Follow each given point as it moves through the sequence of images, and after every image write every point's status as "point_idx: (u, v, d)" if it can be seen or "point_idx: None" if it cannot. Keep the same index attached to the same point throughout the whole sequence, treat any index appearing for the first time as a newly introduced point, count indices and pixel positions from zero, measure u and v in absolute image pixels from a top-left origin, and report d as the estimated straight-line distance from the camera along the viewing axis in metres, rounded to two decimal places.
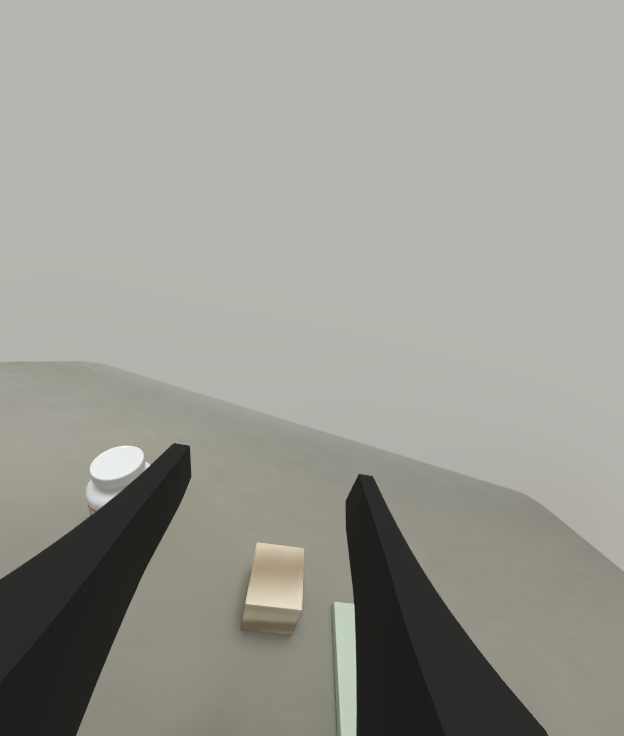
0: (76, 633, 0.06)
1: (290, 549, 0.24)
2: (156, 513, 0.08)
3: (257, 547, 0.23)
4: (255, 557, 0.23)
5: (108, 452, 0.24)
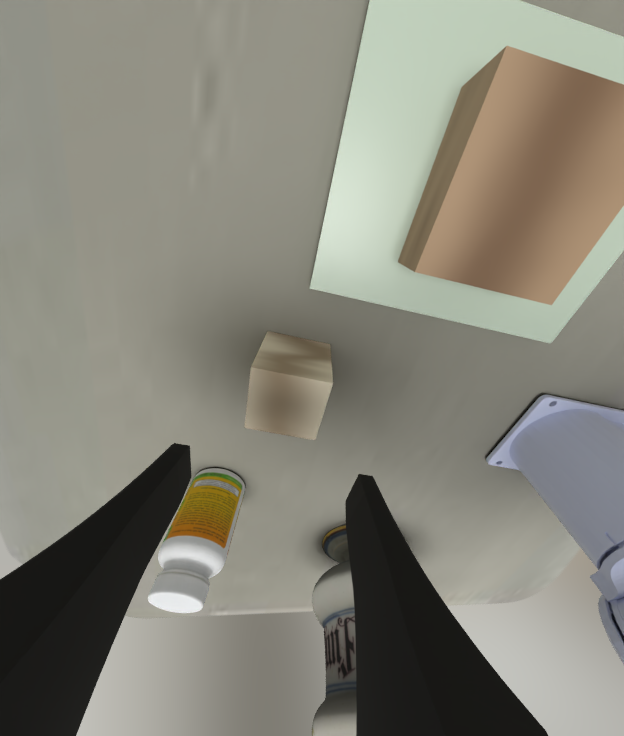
0: (76, 633, 0.06)
1: (253, 387, 0.14)
2: (156, 513, 0.08)
3: (251, 427, 0.16)
4: (264, 430, 0.16)
5: (166, 609, 0.19)
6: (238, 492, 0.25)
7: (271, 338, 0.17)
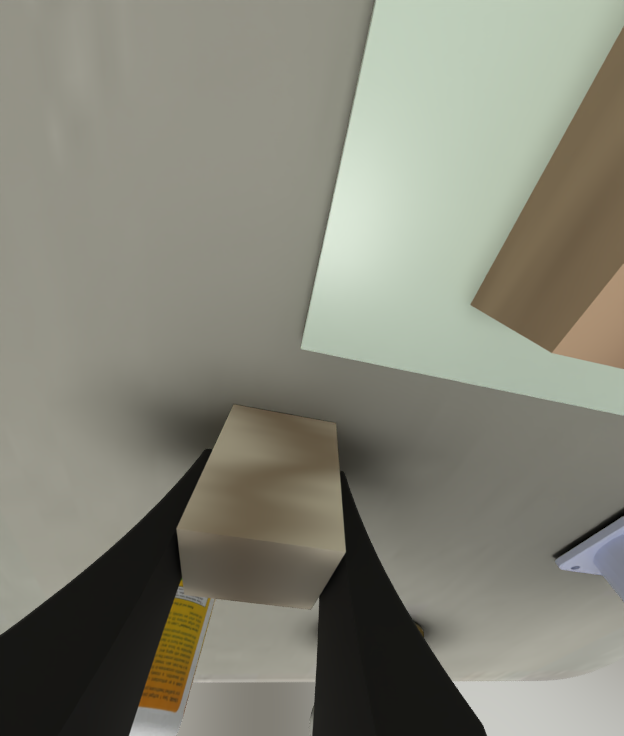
0: (135, 639, 0.06)
1: (187, 552, 0.07)
2: None
3: (196, 595, 0.09)
4: (220, 598, 0.09)
5: None
6: (207, 599, 0.18)
7: (236, 424, 0.10)
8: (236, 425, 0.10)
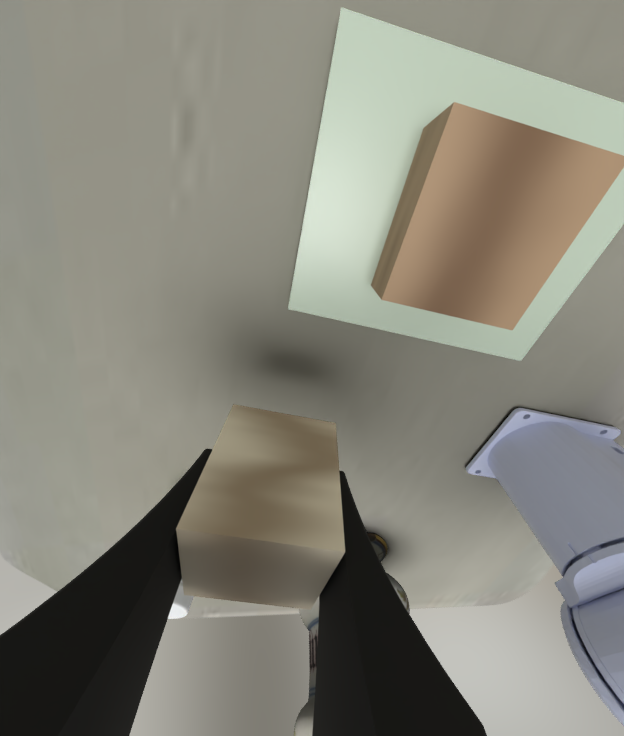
0: (135, 639, 0.06)
1: (187, 552, 0.07)
2: None
3: (196, 595, 0.09)
4: (220, 597, 0.09)
5: None
6: None
7: (236, 423, 0.10)
8: (236, 425, 0.10)
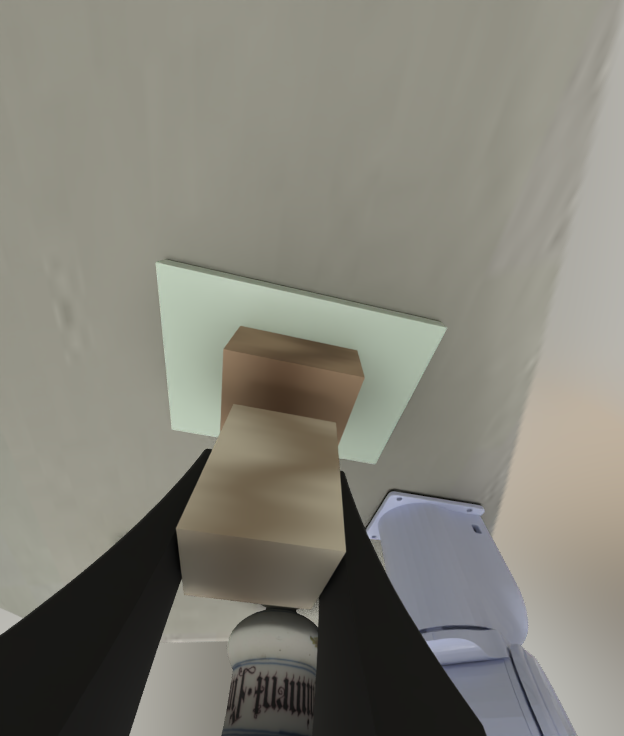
0: (135, 639, 0.06)
1: (187, 552, 0.07)
2: None
3: (196, 595, 0.09)
4: (220, 597, 0.09)
5: None
6: None
7: (236, 423, 0.10)
8: (236, 425, 0.10)
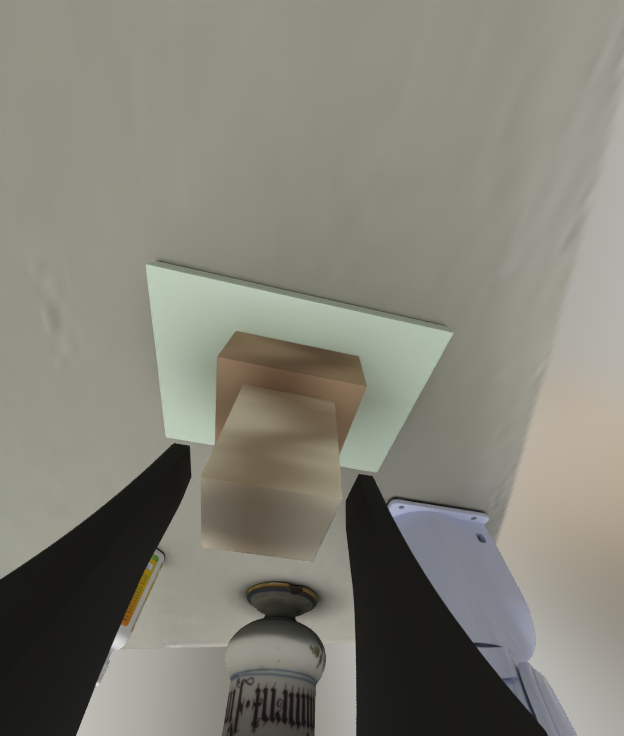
0: (76, 633, 0.06)
1: (208, 502, 0.08)
2: (156, 513, 0.08)
3: (212, 547, 0.10)
4: (233, 549, 0.10)
5: None
6: (152, 566, 0.28)
7: (246, 399, 0.11)
8: (246, 401, 0.11)
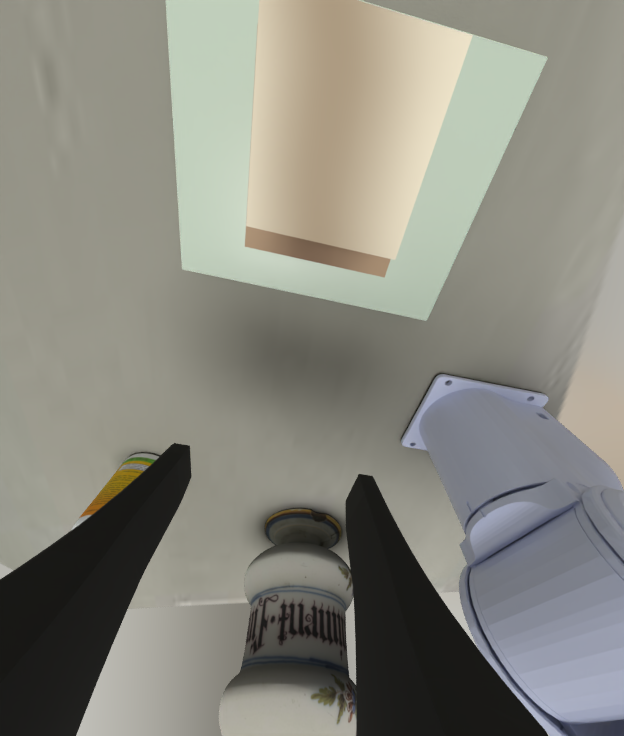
0: (76, 633, 0.06)
1: (265, 68, 0.06)
2: (156, 513, 0.08)
3: (261, 224, 0.07)
4: (289, 231, 0.07)
5: None
6: None
7: None
8: None
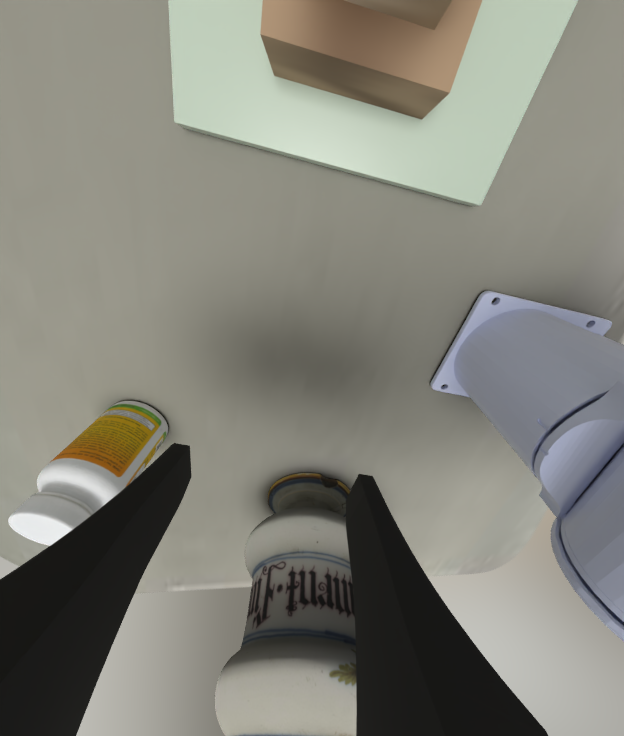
0: (76, 633, 0.06)
1: None
2: (156, 513, 0.08)
3: None
4: None
5: (38, 540, 0.16)
6: (154, 427, 0.22)
7: None
8: None
